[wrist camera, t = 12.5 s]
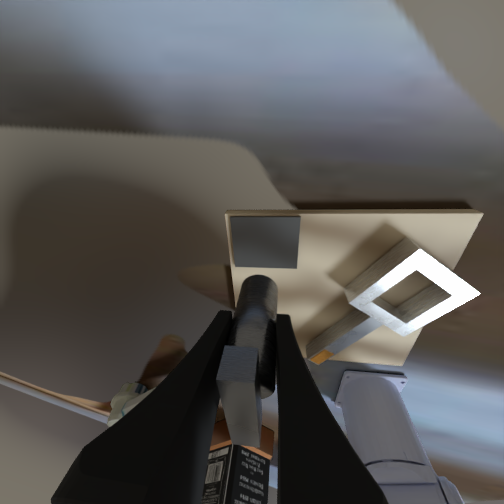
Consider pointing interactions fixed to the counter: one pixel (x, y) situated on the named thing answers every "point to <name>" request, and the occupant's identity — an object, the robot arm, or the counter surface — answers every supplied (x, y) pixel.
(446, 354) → the counter surface
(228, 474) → the whiskey bottle
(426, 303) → the hollow square frame
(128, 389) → the pale grey bent bar
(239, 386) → the hammer
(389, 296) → the workboard
